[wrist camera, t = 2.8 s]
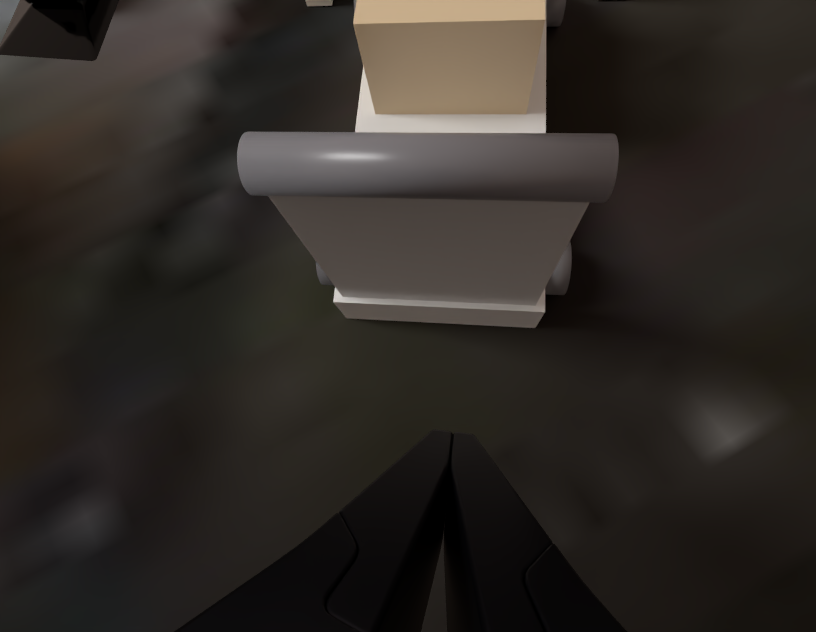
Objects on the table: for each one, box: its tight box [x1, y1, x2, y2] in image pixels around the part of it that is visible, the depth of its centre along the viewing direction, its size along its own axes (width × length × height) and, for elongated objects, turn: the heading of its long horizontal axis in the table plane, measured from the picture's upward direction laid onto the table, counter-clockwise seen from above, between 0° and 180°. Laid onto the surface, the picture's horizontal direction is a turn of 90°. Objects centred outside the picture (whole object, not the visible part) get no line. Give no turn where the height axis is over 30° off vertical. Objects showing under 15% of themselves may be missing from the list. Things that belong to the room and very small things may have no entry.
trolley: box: [237, 0, 619, 328], centre depth 15 cm, size 16×9×10 cm, turn 175°
